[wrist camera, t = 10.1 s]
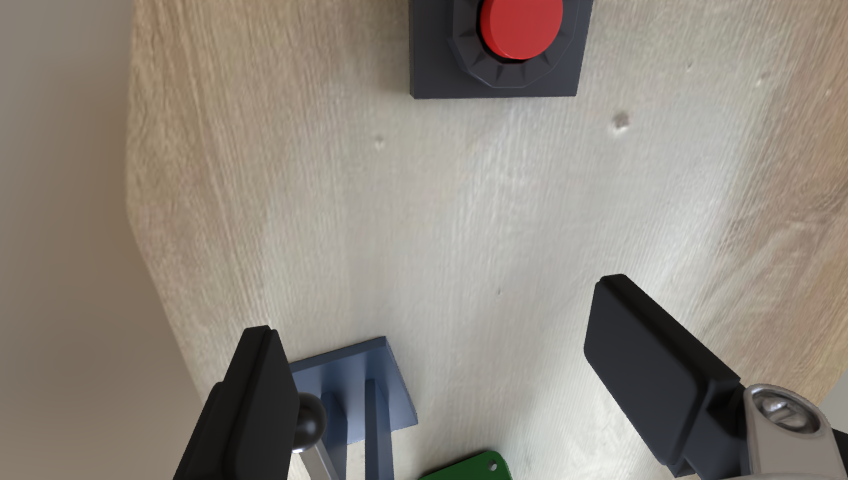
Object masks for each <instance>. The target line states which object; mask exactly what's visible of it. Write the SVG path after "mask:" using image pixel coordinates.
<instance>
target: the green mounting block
mask: <svg viewBox="0 0 848 480" xmlns="http://www.w3.org/2000/svg"><path fill="white" fill-rule="evenodd" d="M493 464H497V468H496V469H495V470H494V471H491V467H492V465H493ZM418 480H513V479H512V476H511V474H510V471H509V468H508V466H507V463H506V461H505V460H504V459H503V457H502V456H501V455H500V454H499V453H497V452H495V451H488V452H485V453H482V454H480V455H477V456H475V457H472V458H470V459H467V460H465V461H462V462H460V463H457V464H455V465H452V466H450V467H447V468H445V469H442V470H440V471H437V472H435V473H432V474H430V475H427V476H425V477H422V478H420V479H418Z"/></svg>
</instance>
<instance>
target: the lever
mask: <svg viewBox="0 0 848 480" xmlns="http://www.w3.org/2000/svg"><path fill="white" fill-rule="evenodd" d="M298 394H299V400H300V406H299V413H298V418H297V424H296V430H295V436H294V442H293V447H292V453H299V454H300V457H301V459H302V461H303V463H304V465H305V467H306V469H307V471H308V473H309V476H310V478H311V480H339V478H338V476H337V474H336V471H335V469H334V467H333V465H332V462H331V460H330V458H329V456H328V453H327V451H326V449H325V447H324V444H323V442H322V440H321V437H322V436H323V434H324V432H325V429H326V426H327V411H326V408H325V406H324V404H323V402H322V401H321V400H320V399H319V398H318V397H317V396H316V395H314V394H312V393H308V392H298Z"/></svg>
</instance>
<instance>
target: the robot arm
mask: <svg viewBox="0 0 848 480" xmlns="http://www.w3.org/2000/svg"><path fill="white" fill-rule="evenodd" d="M584 354H585V357H586V359H587V361H588V362H589V364H590V365H591V366H592V368H593V369H594V371H595V372H596V374H597V375H598V376H599V378H600V379H601V381H602V382H603V384H604V385H605V386H606V388H607V389H608V391H609V392H610V394H611V395H612V396H613V398H614V399H615V401H616V402H617V403H618V405H619V406H620V408H621V409H622V411H623V412H624V413H625V415H626V416H627V418H628V419H629V421H630V422H631V423H632V425H633V426H634V428H635V429H636V431H637V432H638V433H639V435H640V436H641V438H642V439H643V441H644V442H645V443H646V445H647V446H648V448H649V449H650V451H651V452H652V453H653V455H654V456H655V458H656V459H657V460H658V461H659V462H660V463H661V464H662V465H666V466H667V467H668V468H669V470H670V471H671V473H672V474H673V475H674V477H675V478H677V477H682V476H687V475H692V474H695V473H697V474H698V476H699V477H700V478H701V480H848V434H846V433H844V432H841V431H838V430H835V429H833V428H831V426H830V423H829V422H828V420H827V418H826V416H825V415H824V414H823V413H822V412H821V411H820V410H819V409H818V407H817V406H815V405H814V404H812V403H811V402H810V401H808V400H807V399H806V398H804V397H802V396H800V395H799V394H797V393H795V392H793V391H790V390H788V389H785V388H783V387H780V386H776V385H771V384H754V385H750V386H749V387H748V388H747V389H746V388H745V387H744V386H743V385H742V384H741V383H740V382H739V381H740V379H741V378H740V377H739V376H738V375H737V374H736V373H735V372H733V371H732V370H731V369H730V368H729V367H728V366H727V365H726V364H724V363H723V362H722V361H721V360H720V359H719V358H718V357H717V356H715V355H714V354H713V353H712V352H711V351H710V350H709V349H708V348H707V347H705V346H704V345H703V344H702V343H701V342H700V341H699V340H698V339H696V338H695V337H694V336H693V335H692V334H691V333H690V332H689V331H688V330H686V329H685V328H684V327H683V326H682V325H681V324H680V323H679V322H677V321H676V320H675V319H674V318H673V317H672V316H671V315H670V314H668V313H667V312H666V311H665V310H664V309H663V308H662V307H661V306H660V305H658V304H657V303H656V302H655V301H654V300H653V299H652V298H651V297H649V296H648V295H647V294H646V293H645V292H644V291H643V290H642V289H640V288H639V287H638V286H637V285H636V284H635V283H634V282H633V281H632V280H630V279H629V278H628V277H627V276H626V275H624V274H615V275H608V276H603V277H602V278H601V279H600V281H599V282H597V283H596V285H595V289H594V294H593V300H592V305H591V310H590V316H589V321H588V327H587V332H586V338H585V343H584ZM299 406H300V400H299V394H298V391H297V388H296V385H295V382H294V379H293V376H292V373H291V370H290V367H289V364H288V361H287V358H286V355H285V352H284V349H283V346H282V343H281V340H280V337H279V334H278V332H277V330H276V329H273V330H271V329H270V327H269V326H268V325H264V326H257V327H250V328H246V329H245V330H244V331H243V334H242V336H241V338H240V341H239V343H238V346H237V348H236V351H235V353H234V356H233V358H232V360H231V363H230V365H229V368H228V370H227V373H226V375H225V378H224V380H223V381H222V382H217V383H216V384H215V385H214V386H213V388H212V390H211V392H210V394H209V396H208V399H207V401H206V403H205V406H204V408H203V410H202V413H201V415H200V417H199V420H198V422H197V424H196V427H195V429H194V431H193V434H192V436H191V438H190V441H189V443H188V445H187V447H186V450H185V452H184V454H183V457H182V459H181V461H180V464H179V466H178V468H177V470H176V473H175V475H174V477H173V480H287V477H288V471H289V465H290V459H291V453H292V447H293V442H294V436H295V430H296V424H297V418H298V413H299Z"/></svg>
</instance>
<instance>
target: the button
mask: <svg viewBox="0 0 848 480" xmlns="http://www.w3.org/2000/svg"><path fill="white" fill-rule="evenodd" d="M562 14H563V5H562V0H484V2H483V5H482V8H481V13H480V30H481V34H482V37H483V40H484V42H485V43H486V45H487V46H488V48H489V49H490V50H491V51H493V52H494V53H495V54H497V55H499V56H501V57H505V58H513V59H528V58H532V57H534V56H536V55H538V54H540V53H541V52H543V51H544V50H545V49H546V48H547V47H548V46H549V45H550V44H551V43H552V41H553V40H554V38H555V36H556V35H557V33H558V30H559V28H560V25H561V21H562Z"/></svg>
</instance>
